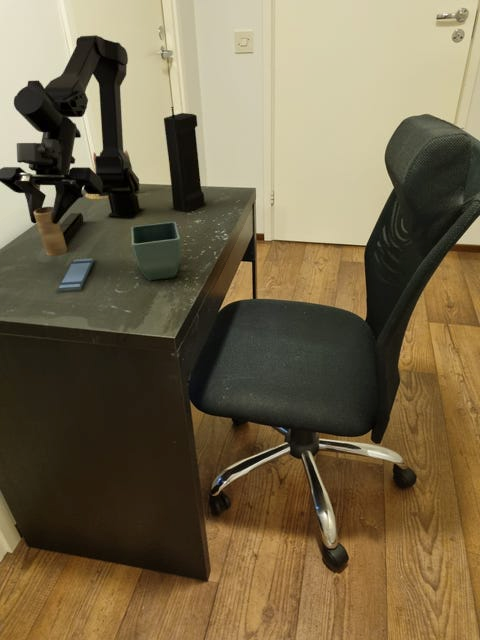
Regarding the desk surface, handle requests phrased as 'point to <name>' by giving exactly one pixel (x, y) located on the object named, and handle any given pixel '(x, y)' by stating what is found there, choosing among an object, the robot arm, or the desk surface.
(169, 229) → the flower pot
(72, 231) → the black rectangular bar
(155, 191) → the desk surface
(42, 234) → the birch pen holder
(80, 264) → the light blue flat block
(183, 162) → the portable radio
